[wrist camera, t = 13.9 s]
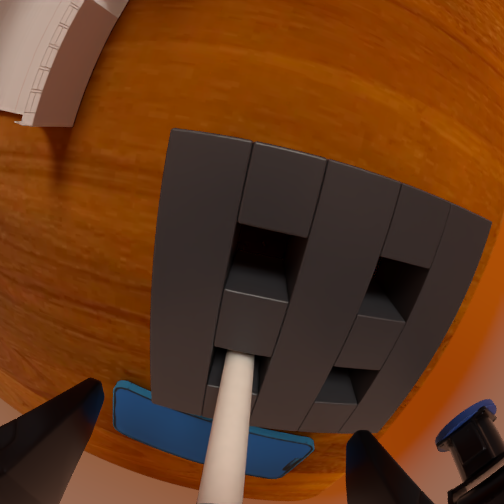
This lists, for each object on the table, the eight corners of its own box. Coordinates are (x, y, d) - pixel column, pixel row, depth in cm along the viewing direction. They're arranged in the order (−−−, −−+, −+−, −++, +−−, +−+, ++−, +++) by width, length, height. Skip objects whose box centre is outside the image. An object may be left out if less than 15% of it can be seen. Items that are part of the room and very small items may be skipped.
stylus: (262, 318, 14) (249, 546, 4) (247, 333, 14) (221, 548, 4) (242, 305, 14) (204, 538, 4) (228, 321, 14) (180, 538, 4)
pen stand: (442, 202, 11) (492, 222, 8) (362, 385, 16) (377, 433, 12) (200, 135, 11) (170, 127, 8) (172, 354, 15) (151, 403, 12)
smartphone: (113, 381, 16) (320, 445, 16) (118, 372, 16) (319, 435, 17) (112, 429, 18) (277, 480, 19) (116, 422, 19) (278, 472, 20)
